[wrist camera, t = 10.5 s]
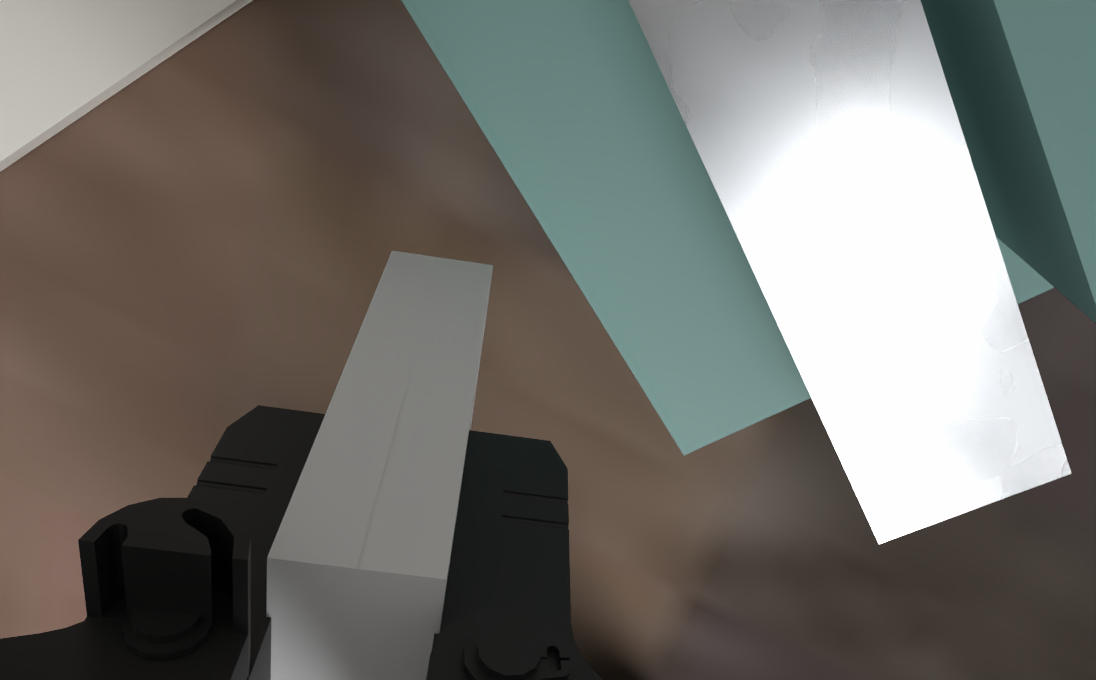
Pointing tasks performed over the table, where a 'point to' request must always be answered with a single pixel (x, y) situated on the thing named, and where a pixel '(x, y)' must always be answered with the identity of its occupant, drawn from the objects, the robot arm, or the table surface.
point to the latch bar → (866, 243)
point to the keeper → (695, 208)
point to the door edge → (84, 57)
